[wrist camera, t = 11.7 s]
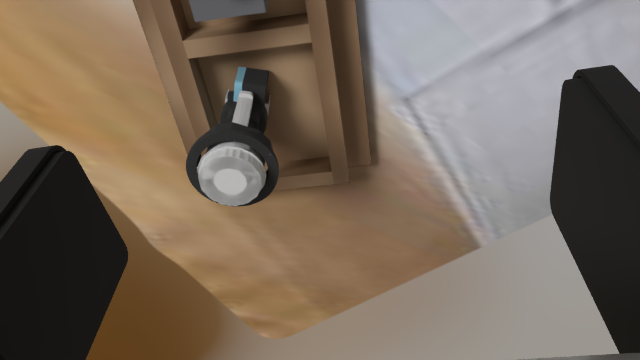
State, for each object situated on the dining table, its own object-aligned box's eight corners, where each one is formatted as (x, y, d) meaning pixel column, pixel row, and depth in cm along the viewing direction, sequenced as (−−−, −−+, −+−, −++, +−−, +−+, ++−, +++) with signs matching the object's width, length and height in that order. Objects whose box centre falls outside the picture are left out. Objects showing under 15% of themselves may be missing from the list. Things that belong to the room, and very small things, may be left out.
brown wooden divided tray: (333, -215, 28) (334, -215, 25) (370, 155, 42) (373, 180, 40) (80, -172, 29) (57, -166, 26) (200, 174, 43) (193, 199, 41)
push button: (280, 147, 40) (270, 237, 32) (210, 138, 40) (182, 228, 32) (290, 67, 36) (282, 149, 28) (212, 56, 36) (182, 136, 28)
